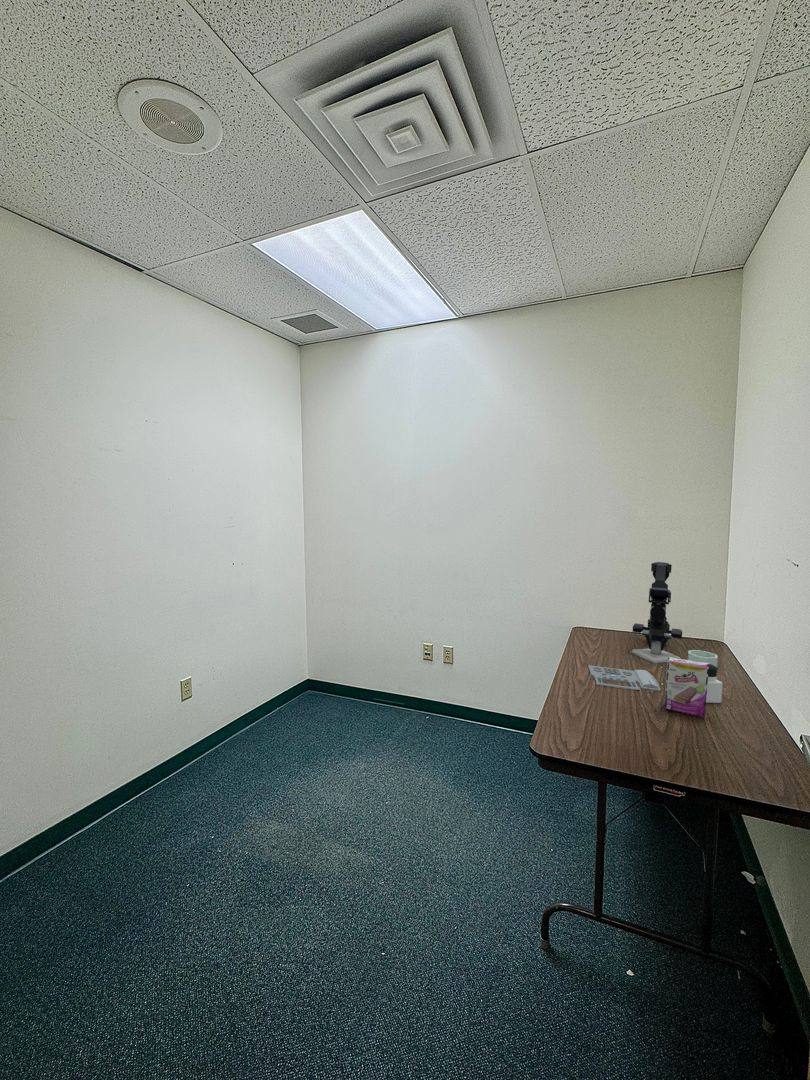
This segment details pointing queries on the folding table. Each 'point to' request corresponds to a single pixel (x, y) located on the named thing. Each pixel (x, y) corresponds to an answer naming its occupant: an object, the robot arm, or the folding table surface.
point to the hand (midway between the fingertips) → (655, 650)
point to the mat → (648, 659)
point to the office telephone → (624, 678)
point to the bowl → (702, 657)
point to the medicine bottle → (713, 686)
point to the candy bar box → (686, 686)
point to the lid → (654, 652)
